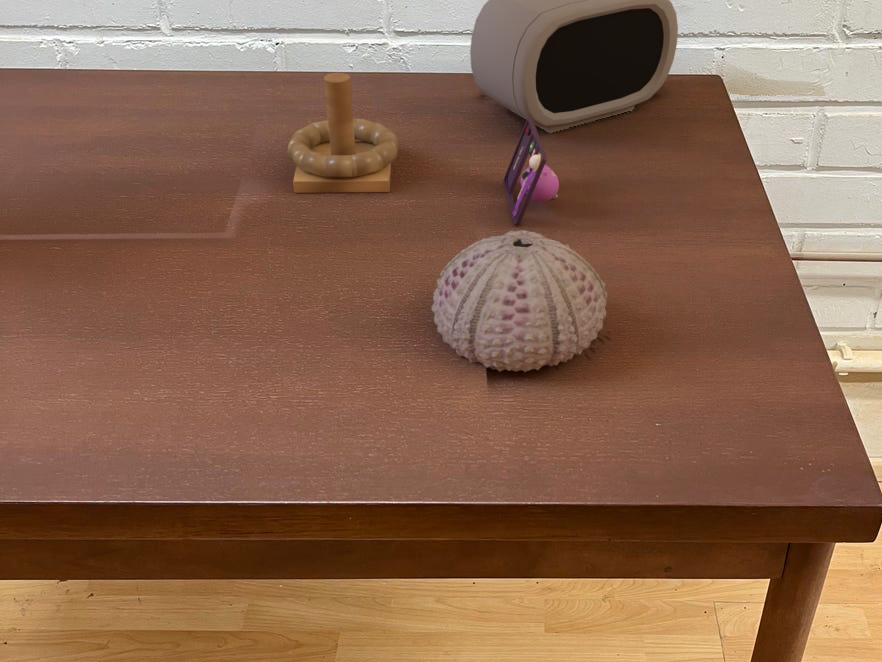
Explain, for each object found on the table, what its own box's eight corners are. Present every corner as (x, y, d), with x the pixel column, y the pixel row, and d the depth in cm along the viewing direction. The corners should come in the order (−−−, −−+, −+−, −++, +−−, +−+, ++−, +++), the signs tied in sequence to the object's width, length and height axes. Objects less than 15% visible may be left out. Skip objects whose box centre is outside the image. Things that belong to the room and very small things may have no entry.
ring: (283, 181, 94) (280, 160, 93) (295, 134, 102) (293, 115, 101) (396, 181, 95) (395, 160, 93) (400, 134, 102) (399, 115, 101)
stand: (294, 193, 95) (282, 96, 89) (303, 152, 102) (292, 59, 96) (389, 192, 96) (384, 95, 89) (392, 152, 102) (387, 59, 96)
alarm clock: (520, 146, 103) (525, 8, 95) (470, 115, 109) (470, -18, 100) (671, 105, 112) (689, -25, 103) (617, 78, 118) (629, -47, 109)
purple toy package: (521, 113, 93) (535, 155, 86) (572, 130, 94) (589, 172, 88) (495, 179, 97) (507, 223, 90) (544, 194, 99) (559, 238, 92)
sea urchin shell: (416, 378, 73) (412, 282, 68) (446, 283, 83) (445, 192, 78) (599, 395, 72) (609, 298, 67) (607, 296, 82) (617, 205, 77)
